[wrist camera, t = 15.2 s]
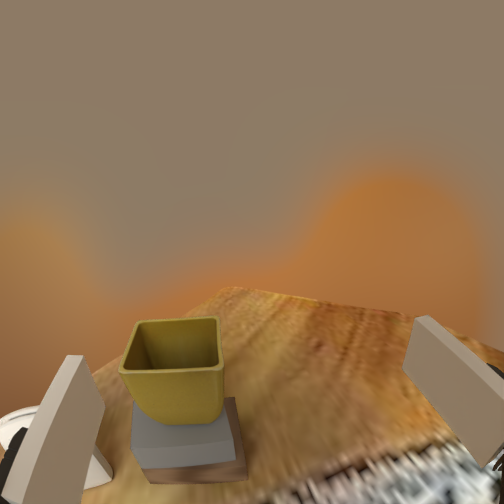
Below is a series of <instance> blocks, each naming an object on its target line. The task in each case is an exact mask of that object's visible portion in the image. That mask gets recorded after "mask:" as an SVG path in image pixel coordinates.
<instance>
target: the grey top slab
mask: <svg viewBox="0 0 504 504" xmlns="http://www.w3.org/2000/svg"><path fill="white" fill-rule="evenodd" d="M130 449H131V451H132V452H133V454H134V456H135V458H136V460H137V461H138V463H139V465H140V466H141V468H142V469H152V468H172V467H185V466H196V465H205V464H213V463H220V462H227V461H233V460H236V456H235V449H234V441H233V436H232V433H231V429H230V425H229V422H228V418H227V414H226V410H225V406H224V405H223V409H222V412H221V414H220V415H219V417H218V418H217V419H216V420H215V421H213V422H212V423H210V424H191V425H165V424H162V423H159V422H157V421H155V420H153V419H152V418H150V417H148V416H147V415H146V414H145V413H144V412H143V411H142V410H141V409H140V408H139V407H138V405H137V404H136V402H135V401H134V402H133V414H132V429H131V447H130Z"/></svg>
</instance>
